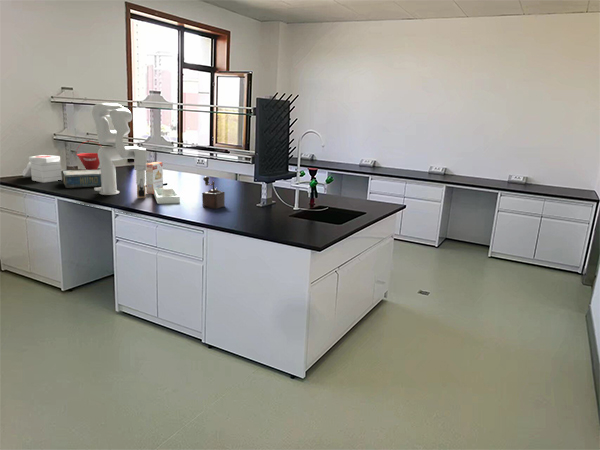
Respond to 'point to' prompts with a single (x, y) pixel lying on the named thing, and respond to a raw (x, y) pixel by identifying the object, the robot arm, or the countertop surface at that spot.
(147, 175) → the cracker box
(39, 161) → the pizza boxes
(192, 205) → the countertop surface
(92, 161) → the fire bucket
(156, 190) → the tray
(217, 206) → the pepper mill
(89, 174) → the metal box
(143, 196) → the light wooden cube
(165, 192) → the white block
